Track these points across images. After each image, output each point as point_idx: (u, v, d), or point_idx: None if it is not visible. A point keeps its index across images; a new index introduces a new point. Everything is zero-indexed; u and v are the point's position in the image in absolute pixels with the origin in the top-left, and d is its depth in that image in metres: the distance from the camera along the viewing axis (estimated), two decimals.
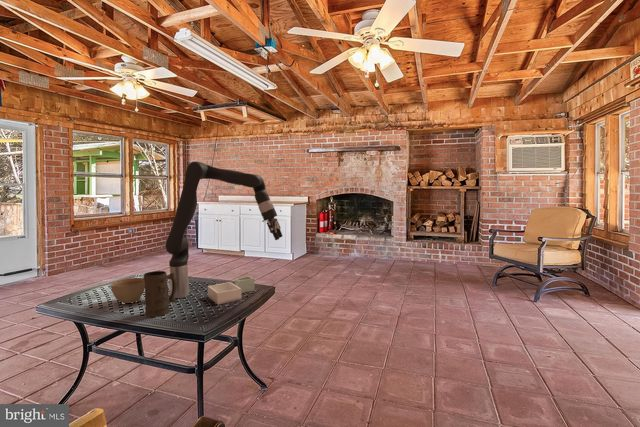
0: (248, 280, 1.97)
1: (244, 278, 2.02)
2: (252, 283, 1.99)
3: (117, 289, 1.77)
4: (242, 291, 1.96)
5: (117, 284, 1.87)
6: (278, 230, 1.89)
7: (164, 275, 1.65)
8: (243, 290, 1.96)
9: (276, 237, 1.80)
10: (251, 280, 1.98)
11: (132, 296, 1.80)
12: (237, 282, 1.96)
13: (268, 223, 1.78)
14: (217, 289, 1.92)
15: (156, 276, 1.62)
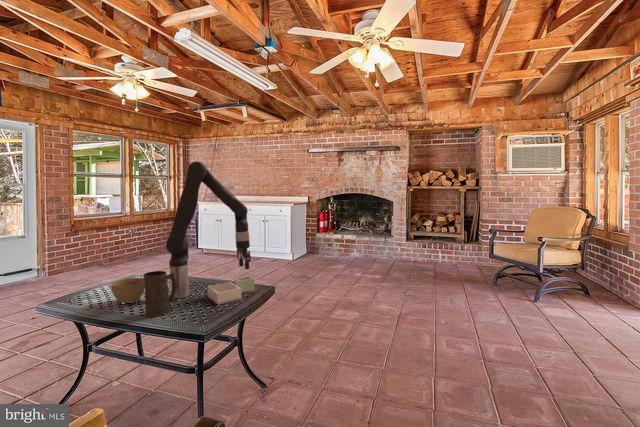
0: (248, 280, 1.97)
1: (244, 278, 2.02)
2: (252, 283, 1.99)
3: (117, 289, 1.77)
4: (242, 291, 1.96)
5: (117, 284, 1.87)
6: (241, 259, 2.02)
7: (164, 275, 1.65)
8: (243, 290, 1.96)
9: (247, 266, 1.94)
10: (251, 280, 1.98)
11: (132, 296, 1.80)
12: (237, 282, 1.96)
13: (247, 252, 1.92)
14: (217, 289, 1.92)
15: (156, 276, 1.62)
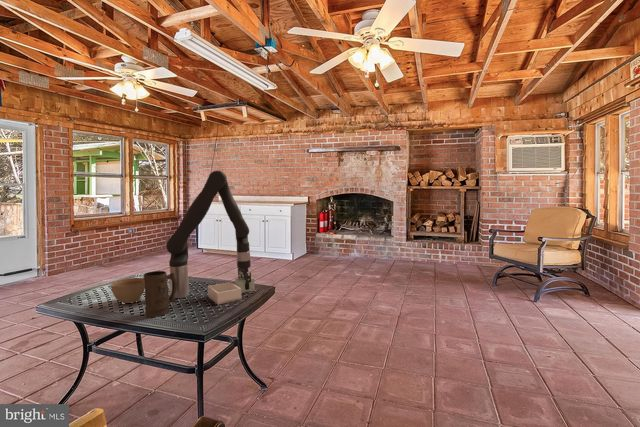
0: None
1: None
2: (252, 283, 1.99)
3: (117, 289, 1.77)
4: (242, 291, 1.96)
5: (117, 284, 1.87)
6: None
7: (164, 275, 1.65)
8: (243, 290, 1.96)
9: (248, 287, 1.96)
10: (251, 280, 1.98)
11: (132, 296, 1.80)
12: (237, 282, 1.96)
13: (248, 274, 1.93)
14: (217, 289, 1.92)
15: (156, 276, 1.62)
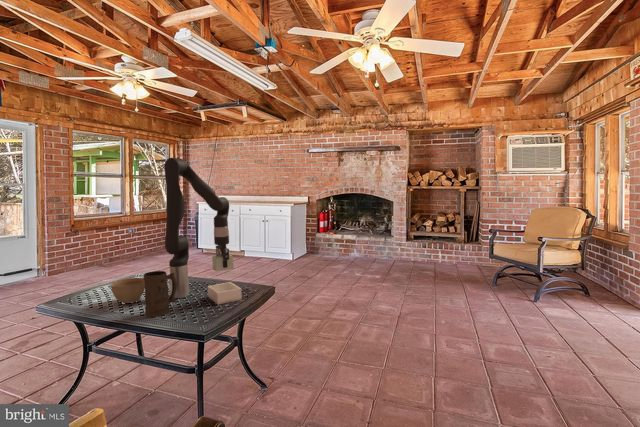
0: None
1: None
2: (231, 261, 1.85)
3: (117, 289, 1.77)
4: (219, 269, 1.81)
5: (117, 284, 1.87)
6: None
7: (164, 275, 1.65)
8: (221, 268, 1.82)
9: (226, 265, 1.82)
10: (229, 258, 1.84)
11: (132, 296, 1.80)
12: (214, 259, 1.82)
13: (225, 250, 1.79)
14: (217, 289, 1.92)
15: (156, 276, 1.62)
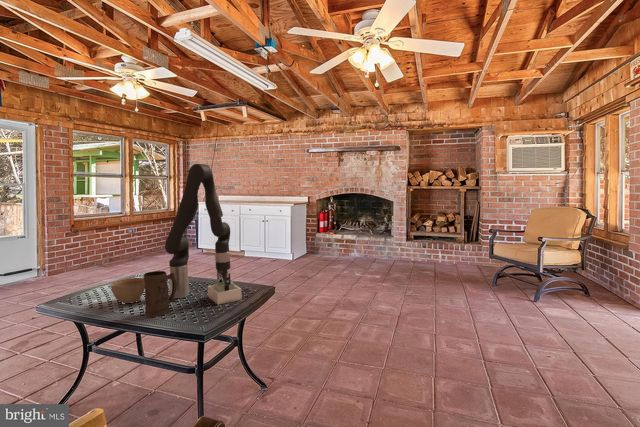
0: None
1: None
2: (232, 288, 1.86)
3: (117, 289, 1.77)
4: None
5: (117, 284, 1.87)
6: (221, 281, 1.90)
7: (164, 275, 1.65)
8: None
9: (227, 290, 1.83)
10: (231, 285, 1.85)
11: (132, 296, 1.80)
12: (216, 287, 1.83)
13: (227, 275, 1.80)
14: None
15: (156, 276, 1.62)
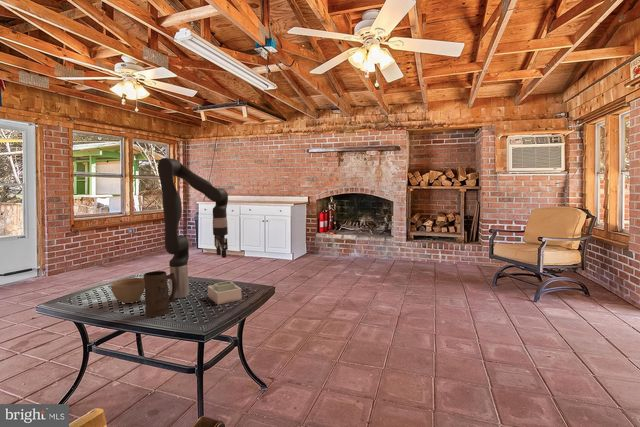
0: (228, 285, 1.84)
1: (224, 283, 1.89)
2: (232, 288, 1.86)
3: (117, 289, 1.77)
4: None
5: (117, 284, 1.87)
6: (219, 248, 1.90)
7: (164, 275, 1.65)
8: None
9: (224, 255, 1.83)
10: (231, 285, 1.85)
11: (132, 296, 1.80)
12: (216, 287, 1.83)
13: (224, 240, 1.80)
14: None
15: (156, 276, 1.62)
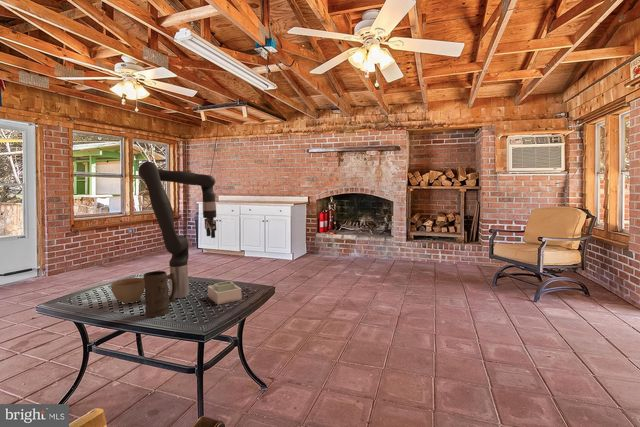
0: (228, 285, 1.84)
1: (224, 283, 1.89)
2: (232, 288, 1.86)
3: (117, 289, 1.77)
4: None
5: (117, 284, 1.87)
6: (208, 229, 2.09)
7: (164, 275, 1.65)
8: None
9: (213, 235, 2.02)
10: (231, 285, 1.85)
11: (132, 296, 1.80)
12: (216, 287, 1.83)
13: (213, 221, 2.00)
14: None
15: (156, 276, 1.62)
